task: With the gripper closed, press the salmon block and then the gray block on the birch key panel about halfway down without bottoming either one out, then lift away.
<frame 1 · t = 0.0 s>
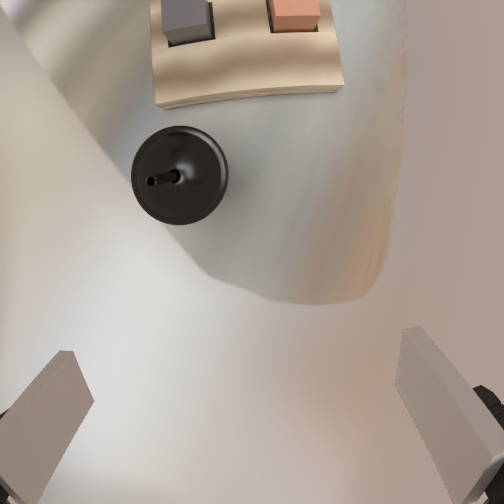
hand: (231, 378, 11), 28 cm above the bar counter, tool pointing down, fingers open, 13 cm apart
key panel: (242, 29, 32), on the bar counter
salmon block: (292, 8, 26), point 5 cm above the bar counter, slide at 0.0 cm
drinking cup: (205, 169, 37), on the bar counter
gray block: (187, 19, 27), point 5 cm above the bar counter, slide at 0.0 cm
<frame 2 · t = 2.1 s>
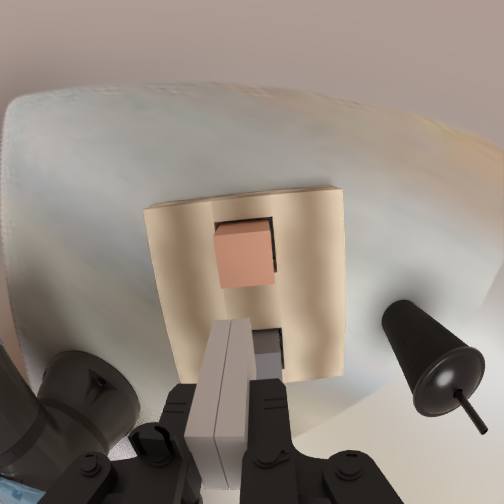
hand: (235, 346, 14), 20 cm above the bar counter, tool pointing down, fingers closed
key panel: (253, 287, 35), on the bar counter
salmon block: (245, 251, 28), point 5 cm above the bar counter, slide at 0.0 cm
drinking cup: (398, 317, 36), on the bar counter
gray block: (258, 358, 31), point 5 cm above the bar counter, slide at 0.0 cm
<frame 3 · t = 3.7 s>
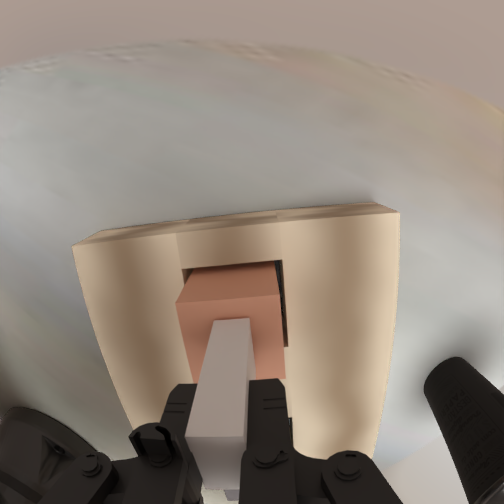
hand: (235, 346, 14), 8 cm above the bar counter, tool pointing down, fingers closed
key panel: (249, 353, 23), on the bar counter
salmon block: (236, 318, 16), point 5 cm above the bar counter, slide at 0.4 cm, touching gripper
drinking cup: (444, 378, 24), on the bar counter
gray block: (256, 457, 19), point 5 cm above the bar counter, slide at 0.0 cm
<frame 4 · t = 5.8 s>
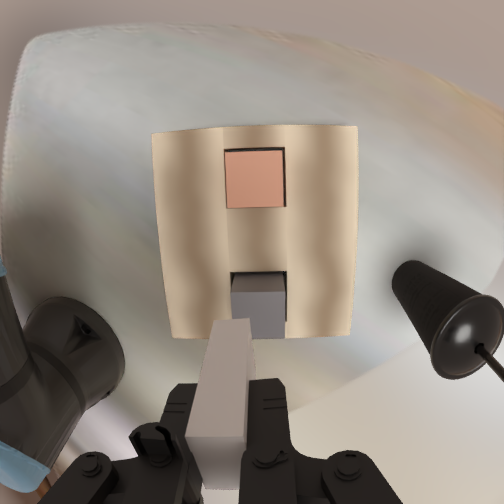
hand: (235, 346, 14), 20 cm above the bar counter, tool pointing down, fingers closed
key panel: (258, 230, 33), on the bar counter
salmon block: (255, 177, 27), point 4 cm above the bar counter, slide at 1.3 cm
drinking cup: (409, 280, 34), on the bar counter
gray block: (259, 303, 29), point 5 cm above the bar counter, slide at 0.0 cm
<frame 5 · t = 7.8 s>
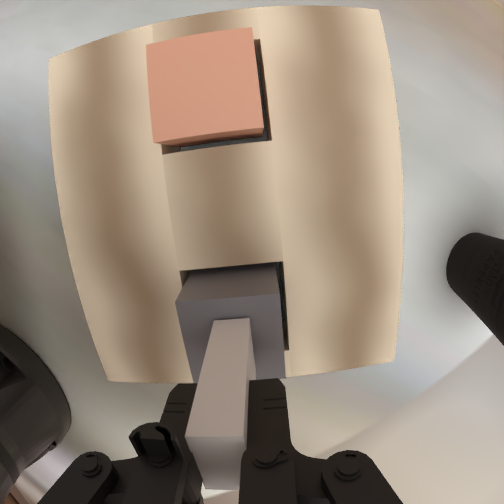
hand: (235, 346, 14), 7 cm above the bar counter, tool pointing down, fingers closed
key panel: (229, 197, 19), on the bar counter
salmon block: (210, 93, 14), point 4 cm above the bar counter, slide at 1.3 cm
drinking cup: (469, 263, 20), on the bar counter
gray block: (236, 317, 16), point 4 cm above the bar counter, slide at 0.8 cm, touching gripper
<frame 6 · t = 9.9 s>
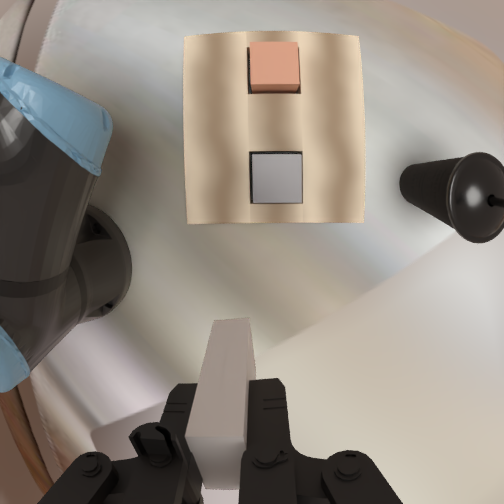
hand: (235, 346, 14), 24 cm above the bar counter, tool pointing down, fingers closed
key panel: (273, 126, 33), on the bar counter
salmon block: (273, 69, 28), point 4 cm above the bar counter, slide at 1.3 cm
drinking cup: (415, 184, 35), on the bar counter
gray block: (276, 177, 31), point 4 cm above the bar counter, slide at 1.3 cm
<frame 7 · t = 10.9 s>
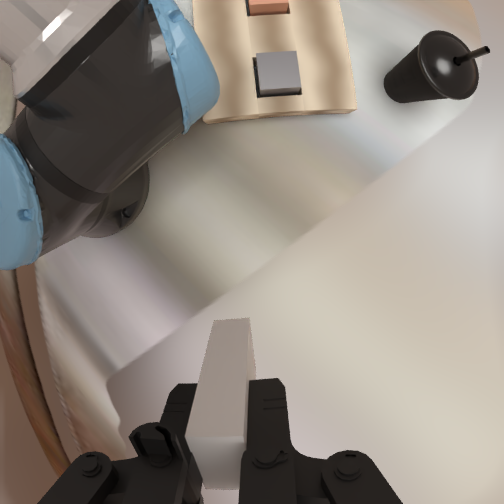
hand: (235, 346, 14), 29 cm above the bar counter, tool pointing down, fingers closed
key panel: (270, 45, 35), on the bar counter
drinking cup: (398, 86, 37), on the bar counter
gray block: (277, 75, 33), point 4 cm above the bar counter, slide at 1.3 cm
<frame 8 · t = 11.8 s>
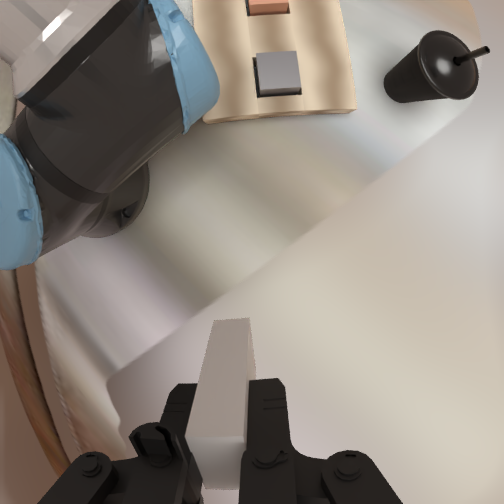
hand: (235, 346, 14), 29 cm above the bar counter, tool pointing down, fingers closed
key panel: (270, 45, 35), on the bar counter
drinking cup: (398, 86, 37), on the bar counter
gray block: (277, 75, 33), point 4 cm above the bar counter, slide at 1.3 cm
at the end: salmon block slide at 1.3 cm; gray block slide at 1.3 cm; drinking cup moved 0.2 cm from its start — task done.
